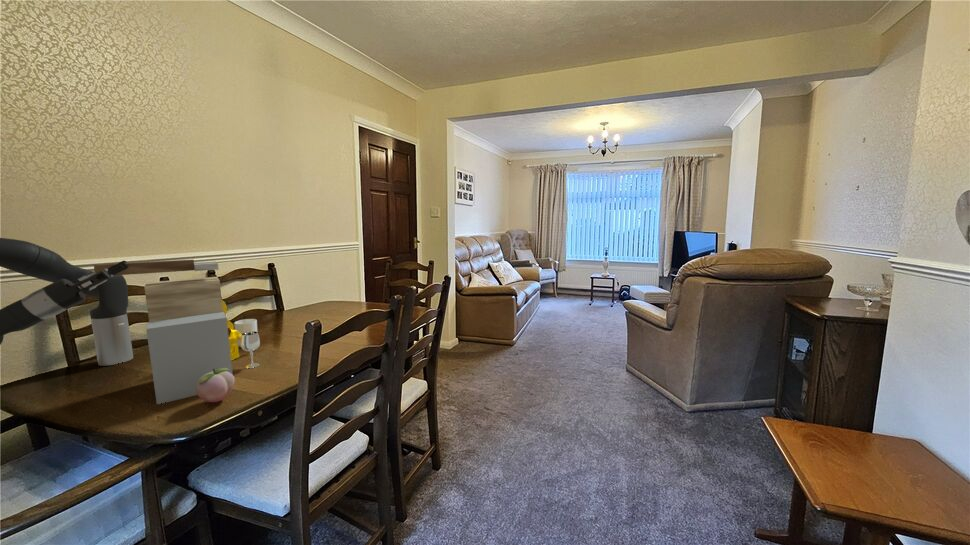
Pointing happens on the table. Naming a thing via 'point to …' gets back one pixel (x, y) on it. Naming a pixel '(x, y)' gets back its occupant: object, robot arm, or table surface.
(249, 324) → the white cup
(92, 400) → the table surface
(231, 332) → the figure statuette
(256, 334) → the wineglass
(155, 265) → the brown block
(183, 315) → the oak stand
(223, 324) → the grey block
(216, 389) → the decorative fruit
